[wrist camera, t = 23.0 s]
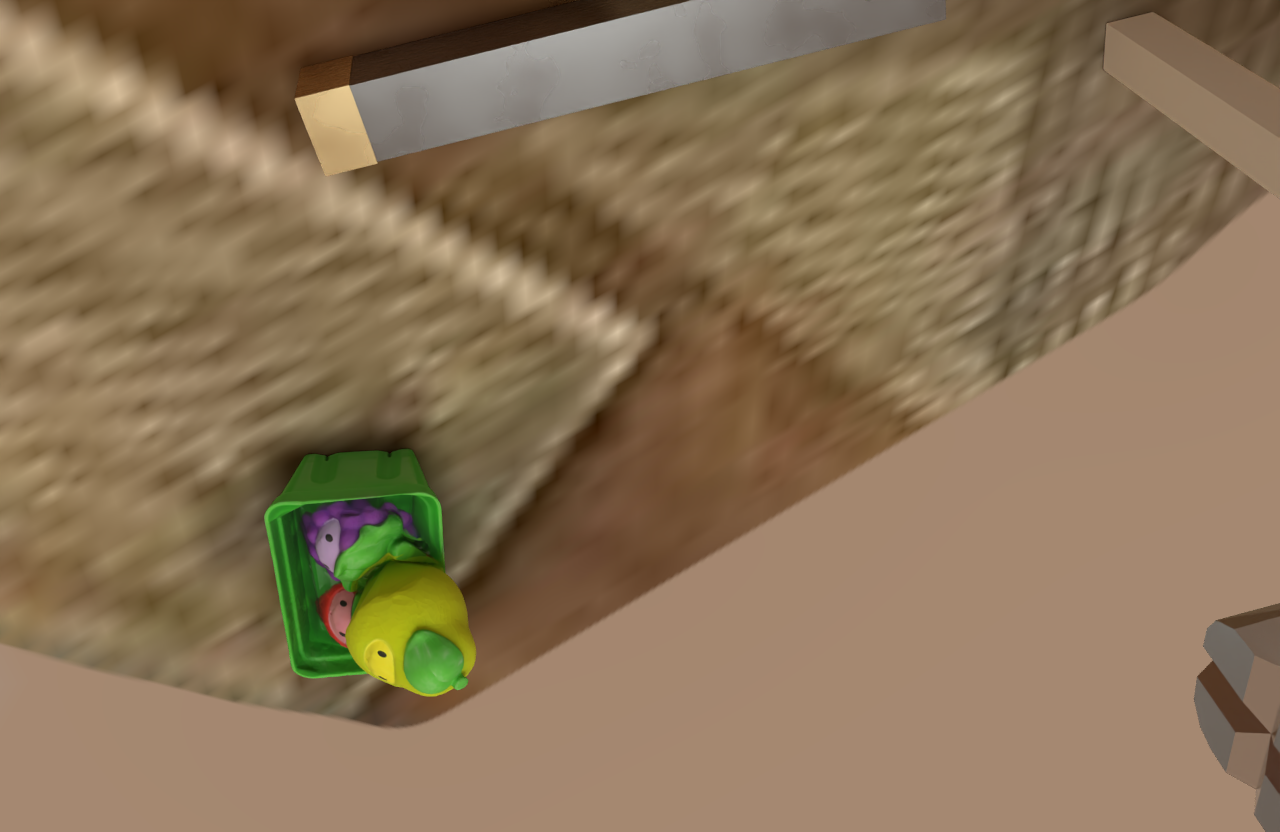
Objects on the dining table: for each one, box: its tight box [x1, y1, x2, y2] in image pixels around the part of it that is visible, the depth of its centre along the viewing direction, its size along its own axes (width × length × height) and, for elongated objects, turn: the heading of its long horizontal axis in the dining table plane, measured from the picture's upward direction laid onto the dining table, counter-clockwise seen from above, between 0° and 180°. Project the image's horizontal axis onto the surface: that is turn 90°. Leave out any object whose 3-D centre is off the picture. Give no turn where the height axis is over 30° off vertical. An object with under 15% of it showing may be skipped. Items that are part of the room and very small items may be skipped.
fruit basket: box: [264, 449, 476, 696], centre depth 52 cm, size 11×9×11 cm
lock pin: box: [294, 0, 946, 176], centre depth 42 cm, size 3×24×3 cm, turn 101°
